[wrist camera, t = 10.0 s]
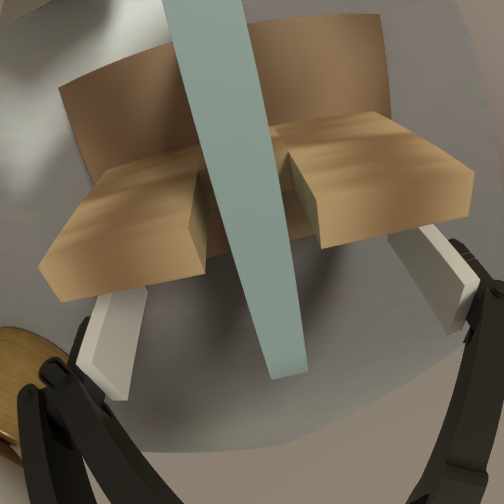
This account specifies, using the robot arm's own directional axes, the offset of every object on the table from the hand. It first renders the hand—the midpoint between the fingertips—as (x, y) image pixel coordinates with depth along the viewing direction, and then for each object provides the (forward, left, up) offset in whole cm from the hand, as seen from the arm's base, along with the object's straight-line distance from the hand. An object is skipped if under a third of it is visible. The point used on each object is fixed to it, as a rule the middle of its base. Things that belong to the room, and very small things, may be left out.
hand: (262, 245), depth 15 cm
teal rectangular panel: (0, +4, -3) cm, 5 cm away
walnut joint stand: (0, +4, -4) cm, 5 cm away
